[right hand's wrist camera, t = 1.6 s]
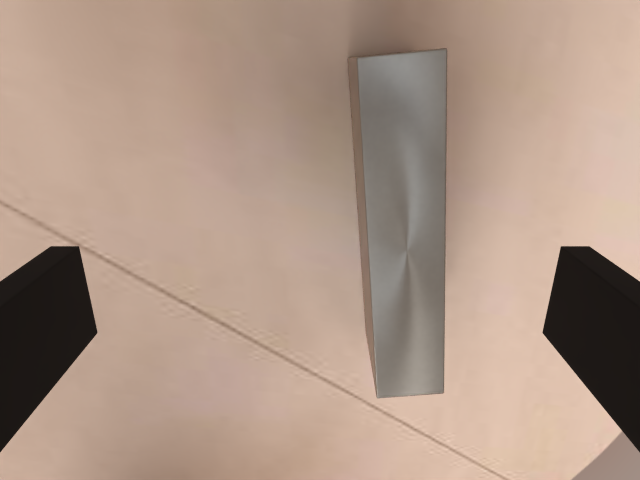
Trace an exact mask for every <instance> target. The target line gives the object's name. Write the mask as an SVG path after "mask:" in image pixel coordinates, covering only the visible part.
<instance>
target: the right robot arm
mask: <svg viewBox="0 0 640 480" xmlns="http://www.w3.org/2000/svg"><path fill="white" fill-rule="evenodd" d="M96 334H97V328H96V324H95V319H94V314H93V310H92V305H91V300H90V296H89V291H88V286H87V282H86V277H85V272H84V268H83V263H82V258H81V254H80V249H79V246H51V247H49V248H48V249H46V250H45V251H44V252H42V253H41V254H39V255H38V256H36V257H35V258H33V259H32V260H31V261H29V262H28V263H26V264H25V265H23V266H22V267H21V268H19V269H18V270H16V271H15V272H13V273H12V274H10V275H9V276H8V277H6V278H5V279H3V280H2V281H0V452H1V451H2V449H3V448H4V447H5V446H6V444H7V443H8V442H9V441H10V440H11V438H12V437H13V436H14V435H15V433H16V432H17V431H18V430H19V429H20V427H21V426H22V425H23V424H24V422H25V421H26V420H27V419H28V417H29V416H30V415H31V414H32V413H33V411H34V410H35V409H36V408H37V406H38V405H39V404H40V403H41V402H42V400H43V399H44V398H45V397H46V395H47V394H48V393H49V392H50V390H51V389H52V388H53V387H54V386H55V384H56V383H57V382H58V381H59V379H60V378H61V377H62V376H63V374H64V373H65V372H66V371H67V370H68V368H69V367H70V366H71V365H72V363H73V362H74V361H75V360H76V359H77V357H78V356H79V355H80V354H81V352H82V351H83V350H84V349H85V347H86V346H87V345H88V344H89V343H90V341H91V340H92V339H93V338H94V336H95V335H96ZM543 334H544V335H545V336H546V338H547V339H548V340H549V341H550V343H551V344H552V345H553V346H554V347H555V349H556V350H557V351H558V352H559V354H560V355H561V356H562V357H563V359H564V360H565V361H566V362H567V363H568V365H569V366H570V367H571V368H572V370H573V371H574V372H575V373H576V374H577V376H578V377H579V378H580V379H581V381H582V382H583V383H584V384H585V386H586V387H587V388H588V389H589V390H590V392H591V393H592V394H593V395H594V397H595V398H596V399H597V400H598V402H599V403H600V404H601V405H602V406H603V408H604V409H605V410H606V411H607V413H608V414H609V415H610V416H611V417H612V419H613V420H614V421H615V422H616V424H617V425H618V426H619V427H620V429H621V430H622V431H623V432H624V433H625V435H626V436H627V437H628V438H629V440H630V441H631V442H632V443H633V444H634V446H635V447H636V448H637V449H638V451H639V452H640V281H638V280H637V279H635V278H634V277H632V276H631V275H630V274H628V273H627V272H625V271H624V270H622V269H621V268H619V267H618V266H617V265H615V264H614V263H612V262H611V261H609V260H608V259H607V258H605V257H604V256H602V255H601V254H599V253H598V252H596V251H595V250H594V249H592V248H591V247H589V246H561V249H560V254H559V258H558V263H557V268H556V272H555V277H554V282H553V286H552V291H551V296H550V300H549V305H548V310H547V314H546V319H545V324H544V328H543Z"/></svg>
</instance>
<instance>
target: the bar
mask: <svg viewBox="0 0 640 480" xmlns="http://www.w3.org/2000/svg"><path fill="white" fill-rule="evenodd" d="M348 72H349V87H350V102H351V117H352V132H353V147H354V162H355V177H356V192H357V207H358V222H359V237H360V252H361V267H362V282H363V297H364V312H365V327H366V336H367V342H368V348H369V354H370V360H371V366H372V372H373V378H374V384H375V390H376V396H377V398H388V397H401V396H415V395H428V394H441V393H444V332H445V224H446V116H447V49H446V48H443V49H431V50H419V51H409V52H399V53H389V54H379V55H370V56H360V57H350V58H348Z"/></svg>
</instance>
